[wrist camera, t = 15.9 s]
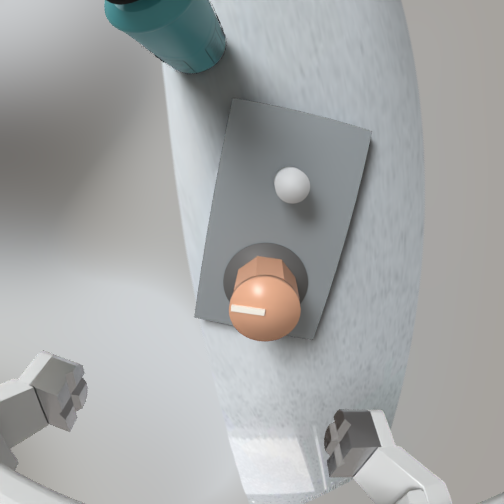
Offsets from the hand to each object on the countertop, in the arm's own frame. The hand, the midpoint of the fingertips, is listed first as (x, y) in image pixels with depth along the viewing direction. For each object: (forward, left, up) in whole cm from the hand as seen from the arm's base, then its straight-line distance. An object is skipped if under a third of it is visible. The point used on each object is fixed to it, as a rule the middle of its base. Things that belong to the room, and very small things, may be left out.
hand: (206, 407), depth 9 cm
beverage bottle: (-17, -9, -27) cm, 33 cm away
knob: (+6, +3, -24) cm, 25 cm away
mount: (0, +3, -27) cm, 27 cm away
